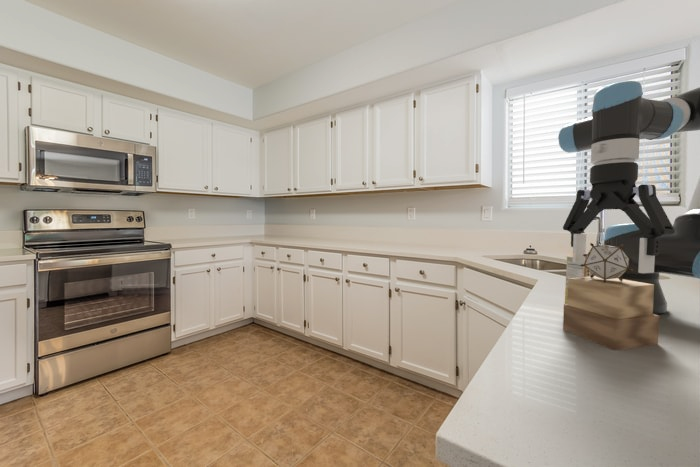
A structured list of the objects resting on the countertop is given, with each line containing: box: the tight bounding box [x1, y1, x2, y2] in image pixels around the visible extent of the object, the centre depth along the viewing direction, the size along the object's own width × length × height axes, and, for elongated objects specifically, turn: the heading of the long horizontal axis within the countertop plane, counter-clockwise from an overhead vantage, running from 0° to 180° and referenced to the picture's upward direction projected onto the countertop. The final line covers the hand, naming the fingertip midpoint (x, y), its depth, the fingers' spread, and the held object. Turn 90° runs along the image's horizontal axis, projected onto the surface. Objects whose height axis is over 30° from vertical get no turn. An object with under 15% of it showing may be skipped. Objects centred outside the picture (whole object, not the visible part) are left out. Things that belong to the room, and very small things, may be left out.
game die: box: [580, 242, 633, 283], centre depth 66 cm, size 9×8×10 cm
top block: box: [567, 275, 654, 319], centre depth 66 cm, size 10×10×6 cm
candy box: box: [564, 252, 590, 304], centre depth 81 cm, size 9×4×15 cm, turn 138°
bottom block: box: [562, 303, 660, 351], centre depth 66 cm, size 11×11×6 cm
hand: (609, 267), depth 65 cm, fingers open, 13 cm apart
